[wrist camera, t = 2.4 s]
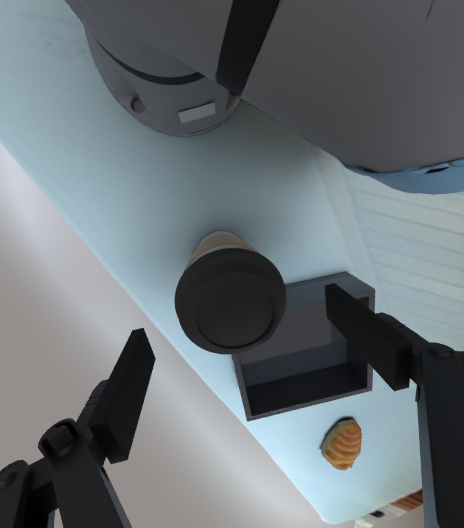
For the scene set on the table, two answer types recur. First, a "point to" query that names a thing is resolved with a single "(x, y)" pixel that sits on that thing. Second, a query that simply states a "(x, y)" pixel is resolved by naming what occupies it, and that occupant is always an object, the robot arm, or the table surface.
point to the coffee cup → (229, 295)
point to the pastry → (342, 444)
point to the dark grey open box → (304, 354)
